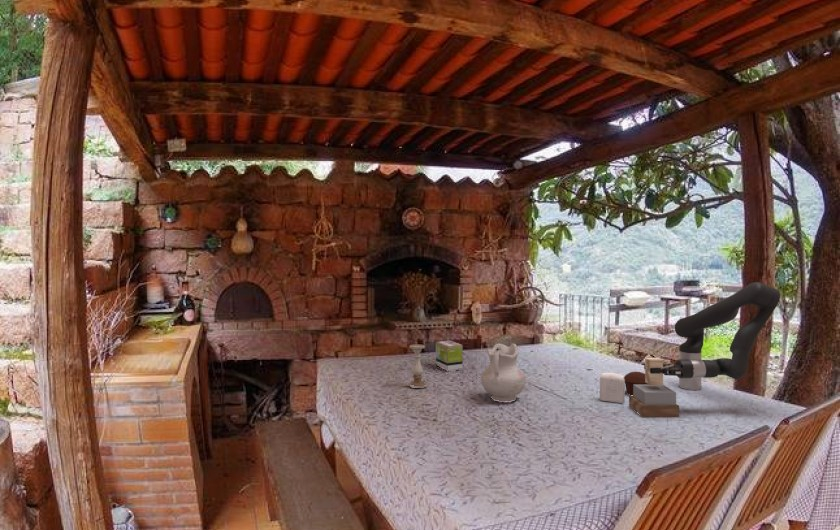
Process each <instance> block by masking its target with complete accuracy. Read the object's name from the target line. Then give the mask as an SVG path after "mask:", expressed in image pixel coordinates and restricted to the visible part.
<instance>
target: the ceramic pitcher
mask: <svg viewBox="0 0 840 530" xmlns="http://www.w3.org/2000/svg"><path fill="white" fill-rule="evenodd" d="M486 351H487V356H488V358H489V366H488V367H487V368H486V369H485V370H483V371H482V373H481V376H480V380H481V384H482V387H483V388H484V390H485V392H486V393H488V394H489V395H491V396H490V397H492V398H493V399H495V400H499V401H511V400H516V398H517V397H516V396H517V395H519V394H520V393H522V392H523V390H524V389H525V385H526V375H525V373H524V371H522V370H521V369H520V368H519V367H518V366H517V358H518V355H519V350H518V345H517V344H516V343H513V342H511V343H510V346H507V345H505V344H502V343H496V344H494V345H493V346H492V349H487V350H486ZM516 401H517V400H516Z"/></svg>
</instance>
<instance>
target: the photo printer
mask: <svg viewBox="0 0 840 530" xmlns="http://www.w3.org/2000/svg"><path fill="white" fill-rule="evenodd" d="M624 377H625V375H622V374H619V373H616V372H603V373H600V377H599V400H600V401H601V402H602V401H604V402H611V403H617V404H618V403H619V404H625V403H626V402H625V400H626V399H625V397H626V396H625V395H626V386H625V379H624Z"/></svg>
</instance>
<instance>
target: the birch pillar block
mask: <svg viewBox="0 0 840 530" xmlns="http://www.w3.org/2000/svg"><path fill="white" fill-rule="evenodd" d="M663 362H664V360H663V359H661V358H659V357H645V358H644V365H645V369H644V374H645V382H646V383H647V384H649V385H664V374H651V373H650V368H661V367H663Z"/></svg>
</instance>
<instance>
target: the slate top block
mask: <svg viewBox="0 0 840 530" xmlns="http://www.w3.org/2000/svg"><path fill="white" fill-rule="evenodd" d="M633 396H634V397H635V398H636V399H638V400H639V401H640V402H642V403H643V404H644V405H676V404H677V392H676V391H675V390H672V389H671V388H670V387H667V386H666V385H664V384H663V385H639V384H633Z"/></svg>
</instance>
